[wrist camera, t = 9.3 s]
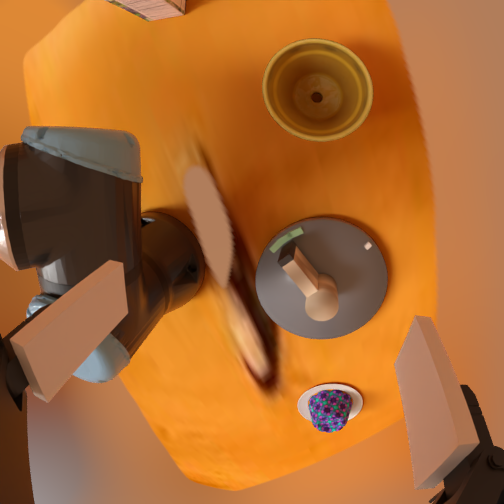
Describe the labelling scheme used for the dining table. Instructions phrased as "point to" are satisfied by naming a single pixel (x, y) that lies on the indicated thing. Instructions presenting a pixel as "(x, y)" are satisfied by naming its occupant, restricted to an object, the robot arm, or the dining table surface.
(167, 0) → the syrup box
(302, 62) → the plant pot
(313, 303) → the tuning peg
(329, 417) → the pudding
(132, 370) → the dining table surface
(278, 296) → the flat grey disc
